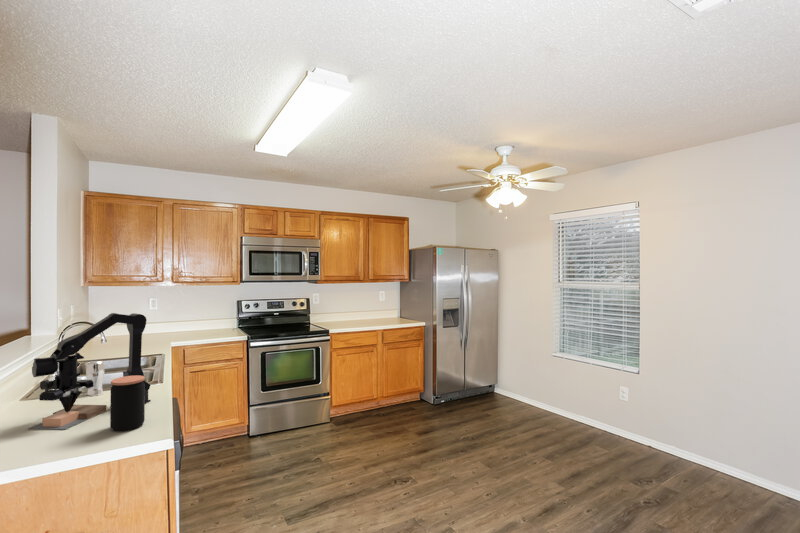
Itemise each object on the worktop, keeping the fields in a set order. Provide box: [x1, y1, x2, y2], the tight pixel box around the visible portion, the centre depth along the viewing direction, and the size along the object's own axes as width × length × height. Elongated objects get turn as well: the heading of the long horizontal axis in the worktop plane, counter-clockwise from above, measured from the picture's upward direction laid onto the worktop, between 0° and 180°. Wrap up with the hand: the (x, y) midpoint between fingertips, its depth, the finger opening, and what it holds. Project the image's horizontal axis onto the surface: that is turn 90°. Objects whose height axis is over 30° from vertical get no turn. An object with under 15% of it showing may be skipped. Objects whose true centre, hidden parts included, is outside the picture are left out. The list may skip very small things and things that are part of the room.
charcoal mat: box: [28, 419, 88, 431], centre depth 154 cm, size 14×10×1 cm
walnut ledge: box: [52, 404, 107, 421], centre depth 164 cm, size 14×10×2 cm
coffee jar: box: [109, 375, 146, 433], centre depth 152 cm, size 11×11×18 cm
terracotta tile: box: [42, 411, 79, 427], centre depth 155 cm, size 7×8×3 cm
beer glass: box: [85, 360, 105, 397], centre depth 192 cm, size 7×7×15 cm
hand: (67, 411), depth 158 cm, fingers closed
